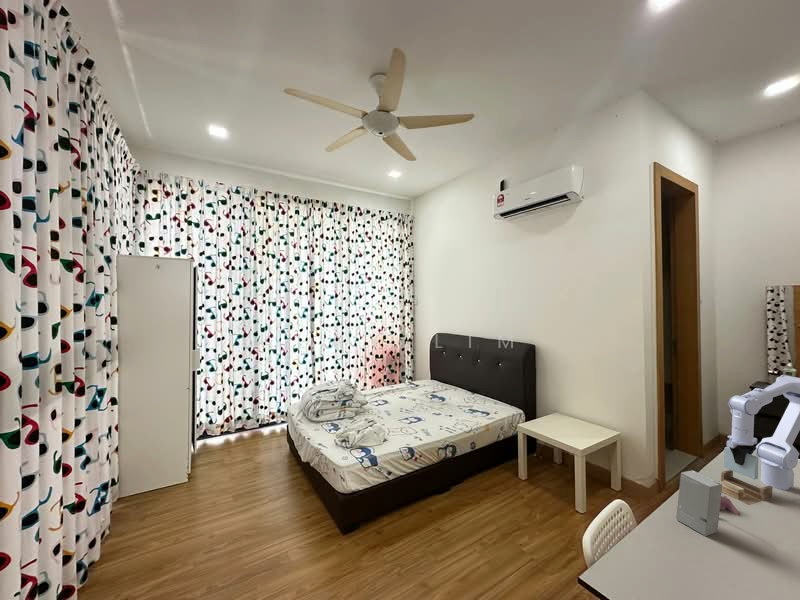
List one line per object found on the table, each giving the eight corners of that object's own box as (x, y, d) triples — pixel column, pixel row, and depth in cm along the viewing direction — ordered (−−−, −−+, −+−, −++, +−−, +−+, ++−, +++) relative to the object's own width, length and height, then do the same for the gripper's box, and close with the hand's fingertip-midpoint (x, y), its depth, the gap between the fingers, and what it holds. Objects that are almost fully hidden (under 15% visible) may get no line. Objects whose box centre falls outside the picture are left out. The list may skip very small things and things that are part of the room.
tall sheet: (727, 466, 131) (727, 446, 130) (757, 478, 122) (758, 457, 122) (724, 467, 130) (724, 447, 130) (754, 479, 121) (755, 457, 121)
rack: (730, 482, 130) (730, 469, 130) (772, 501, 119) (772, 486, 119) (707, 488, 126) (707, 475, 126) (748, 508, 115) (748, 493, 115)
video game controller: (730, 516, 112) (723, 492, 115) (742, 518, 108) (733, 494, 111) (699, 514, 113) (692, 490, 116) (709, 516, 109) (702, 491, 112)
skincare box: (675, 520, 108) (677, 472, 107) (689, 515, 110) (691, 468, 110) (707, 538, 100) (708, 486, 99) (721, 532, 102) (723, 482, 102)
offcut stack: (724, 487, 125) (724, 480, 124) (745, 497, 119) (745, 489, 119) (717, 489, 123) (717, 481, 123) (738, 499, 118) (738, 491, 118)
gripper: (740, 422, 132) (739, 456, 132) (717, 426, 127) (716, 461, 127) (764, 429, 125) (763, 464, 125) (740, 433, 120) (739, 470, 121)
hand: (741, 463), depth 126 cm, fingers closed on tall sheet, 2 cm apart
